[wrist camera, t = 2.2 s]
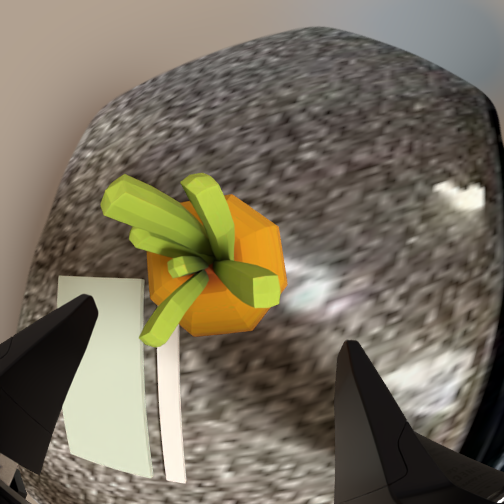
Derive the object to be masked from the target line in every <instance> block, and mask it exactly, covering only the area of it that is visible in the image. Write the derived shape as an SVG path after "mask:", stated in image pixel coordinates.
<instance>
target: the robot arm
mask: <svg viewBox="0 0 504 504" xmlns="http://www.w3.org/2000/svg"><path fill="white" fill-rule="evenodd" d="M97 318H98V309H97V306H96V303H95V301H94V298H93V297H92V296H91V295H88V294H81V295H79V296H78V297H76V298H74V299H72V300H71V301H69V302H67V303H66V304H64V305H62V306H61V307H59V308H57V309H56V310H54V311H52V312H51V313H49V314H47V315H46V316H44V317H43V318H41V319H39V320H38V321H36V322H34V323H33V324H31V325H30V326H28V327H26V328H25V329H23V330H22V331H20V332H18V333H17V334H15V335H14V336H13V337H11V338H9V339H8V340H6V341H5V342H3V343H1V344H0V504H31V503H30V502H28V501H27V500H26V496H27V492H26V490H25V487H24V484H23V481H22V478H21V475H20V471H19V470H18V469H17V466H18V464H19V465H21V466H23V467H25V468H26V469H28V470H30V471H32V472H34V473H36V474H38V475H40V473H41V470H42V466H43V463H44V459H45V456H46V453H47V450H48V447H49V443H50V440H51V437H52V434H53V431H54V428H55V425H56V423H57V420H58V417H59V414H60V412H61V409H62V406H63V404H64V401H65V399H66V396H67V394H68V391H69V389H70V386H71V384H72V381H73V379H74V377H75V374H76V372H77V370H78V367H79V365H80V363H81V361H82V358H83V356H84V354H85V351H86V349H87V346H88V344H89V341H90V338H91V335H92V332H93V329H94V327H95V324H96V321H97ZM334 411H335V493H334V504H504V502H501V503H497V502H493V501H491V500H488V499H486V498H483V497H481V496H478V495H476V494H474V493H471V492H469V491H467V490H465V489H463V488H460V487H458V486H456V485H455V484H453V483H452V482H451V481H450V480H449V479H448V478H447V477H446V476H445V475H444V474H443V472H442V471H441V469H440V468H439V467H438V465H437V464H436V463H435V461H434V460H433V459H432V457H431V456H430V455H429V453H428V452H427V451H426V449H425V448H424V446H423V445H422V443H421V442H420V441H419V439H418V437H417V436H416V434H415V433H414V431H413V429H412V428H411V426H410V424H409V423H408V422H406V421H407V419H406V418H405V416H404V414H403V413H402V411H401V409H400V408H399V406H398V404H397V403H396V401H395V399H394V398H393V396H392V395H391V393H390V391H389V390H388V388H387V386H386V385H385V383H384V382H383V380H382V378H381V377H380V375H379V374H378V372H377V370H376V369H375V367H374V366H373V364H372V362H371V361H370V359H369V358H368V356H367V355H366V353H365V351H364V350H363V348H362V347H361V345H360V344H359V342H358V341H356V340H345V341H344V343H343V345H342V348H341V350H340V352H339V354H338V357H337V369H336V384H335V397H334Z"/></svg>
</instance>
